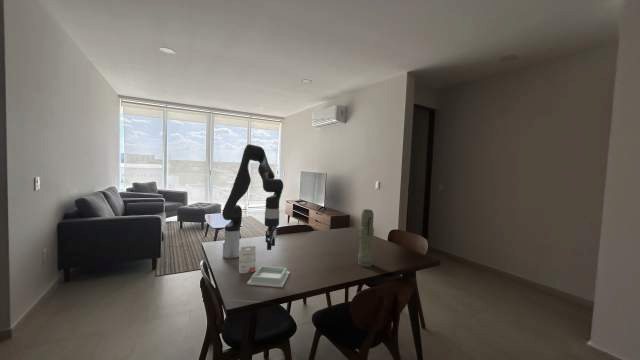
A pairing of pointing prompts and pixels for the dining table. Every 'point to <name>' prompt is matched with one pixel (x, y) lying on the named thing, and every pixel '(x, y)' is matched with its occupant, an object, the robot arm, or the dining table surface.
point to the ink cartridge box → (247, 259)
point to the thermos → (366, 239)
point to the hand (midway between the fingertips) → (270, 247)
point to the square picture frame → (269, 276)
